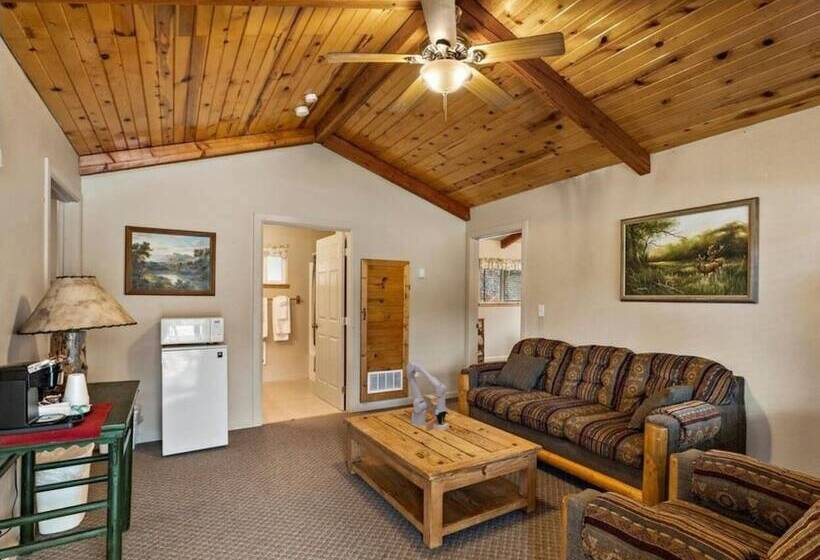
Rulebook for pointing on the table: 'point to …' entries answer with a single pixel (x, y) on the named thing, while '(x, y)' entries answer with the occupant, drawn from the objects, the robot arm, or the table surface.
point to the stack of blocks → (431, 404)
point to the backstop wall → (431, 424)
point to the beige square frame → (441, 426)
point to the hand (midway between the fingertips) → (441, 422)
